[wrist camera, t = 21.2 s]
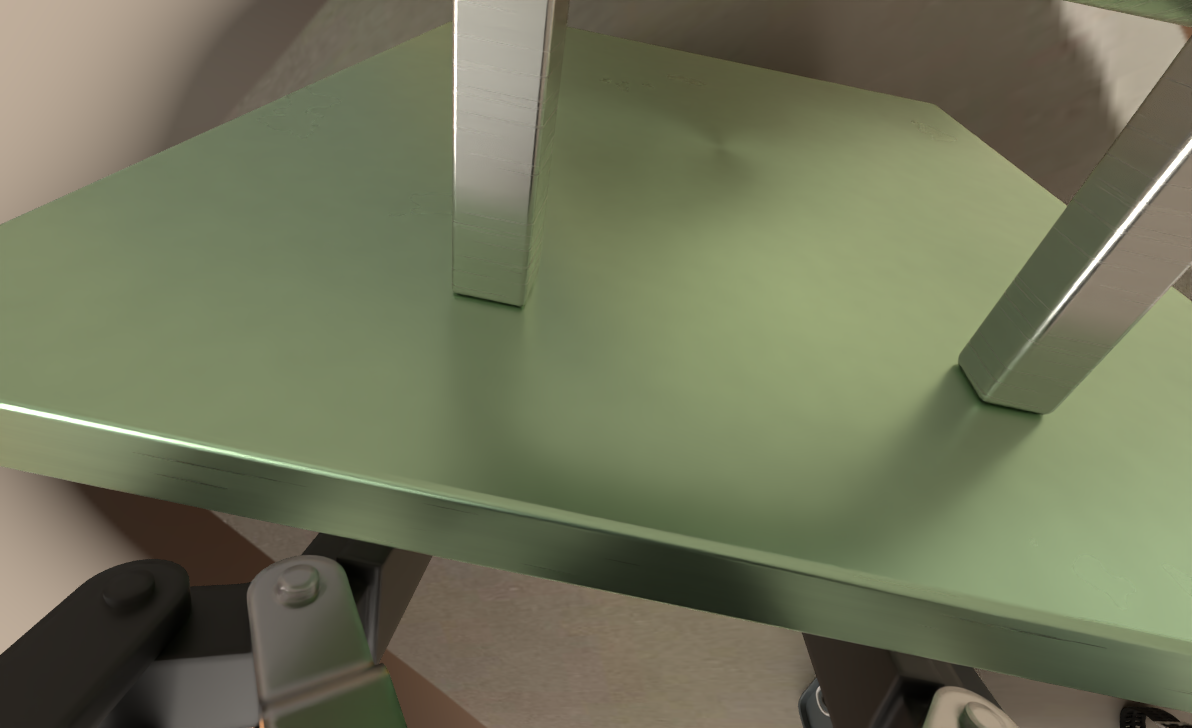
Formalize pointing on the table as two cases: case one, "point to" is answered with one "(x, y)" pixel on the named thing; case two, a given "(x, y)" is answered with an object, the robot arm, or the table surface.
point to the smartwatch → (1156, 715)
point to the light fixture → (817, 715)
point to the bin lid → (652, 343)
